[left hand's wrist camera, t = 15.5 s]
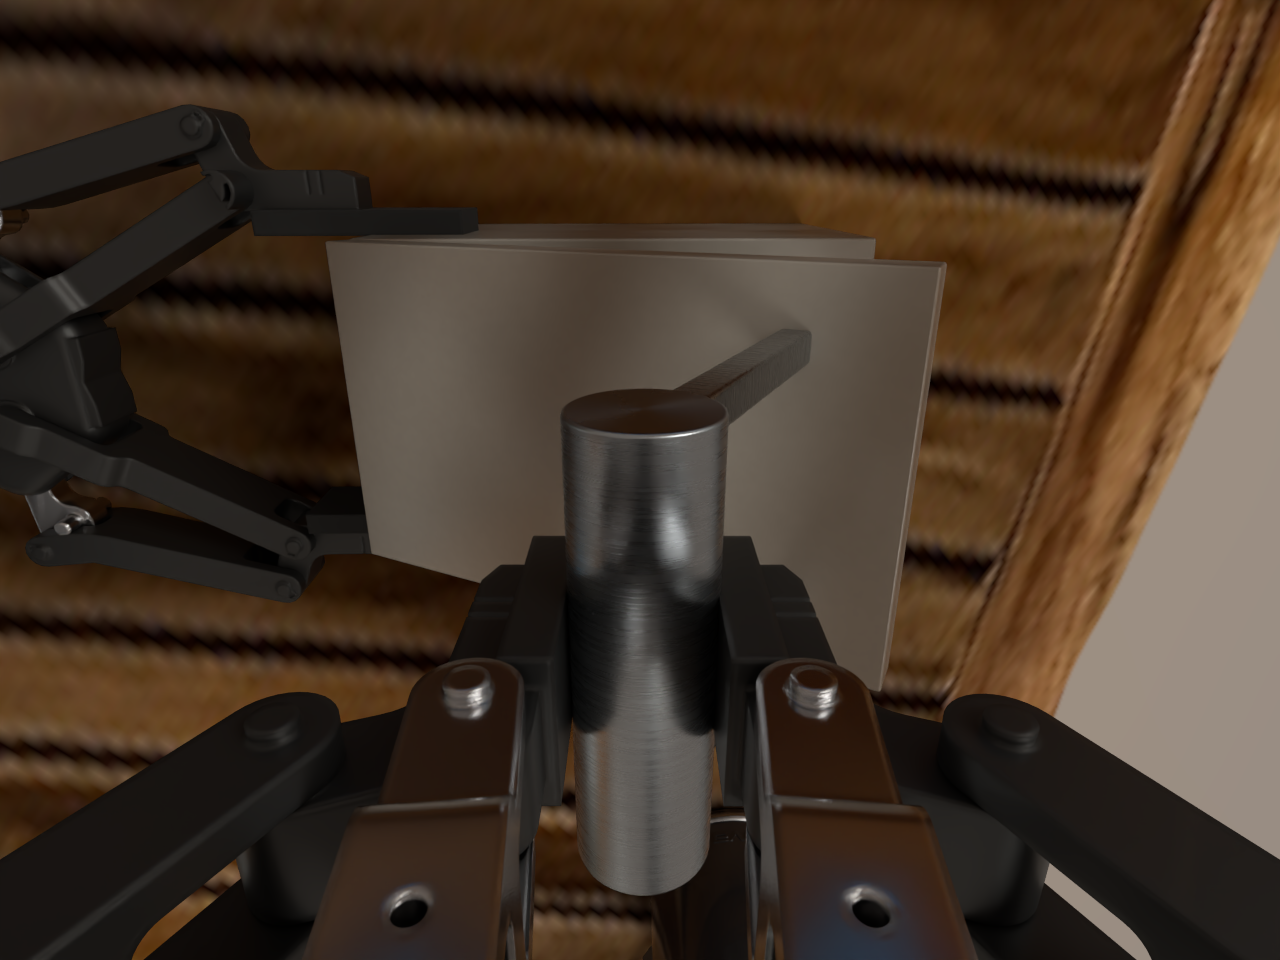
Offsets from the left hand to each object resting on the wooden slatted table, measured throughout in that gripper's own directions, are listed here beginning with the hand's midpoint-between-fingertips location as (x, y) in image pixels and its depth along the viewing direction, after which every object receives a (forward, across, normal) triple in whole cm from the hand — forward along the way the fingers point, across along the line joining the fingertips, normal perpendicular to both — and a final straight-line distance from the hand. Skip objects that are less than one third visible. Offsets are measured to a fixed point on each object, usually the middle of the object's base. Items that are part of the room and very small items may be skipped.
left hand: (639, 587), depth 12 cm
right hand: (+15, +6, 0) cm, 16 cm away
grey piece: (+8, +1, 0) cm, 8 cm away
